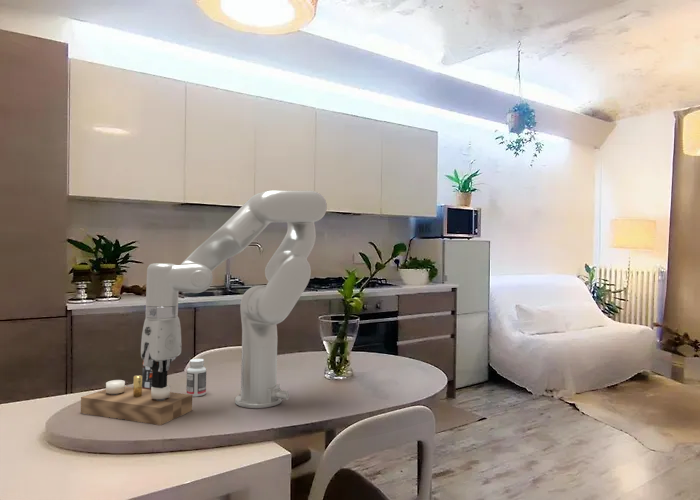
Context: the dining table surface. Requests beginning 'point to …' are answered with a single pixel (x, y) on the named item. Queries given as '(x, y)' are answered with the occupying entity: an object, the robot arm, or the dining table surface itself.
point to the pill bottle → (196, 378)
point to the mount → (136, 406)
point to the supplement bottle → (146, 377)
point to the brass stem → (137, 386)
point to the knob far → (115, 387)
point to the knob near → (160, 393)
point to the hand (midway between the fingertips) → (159, 386)
